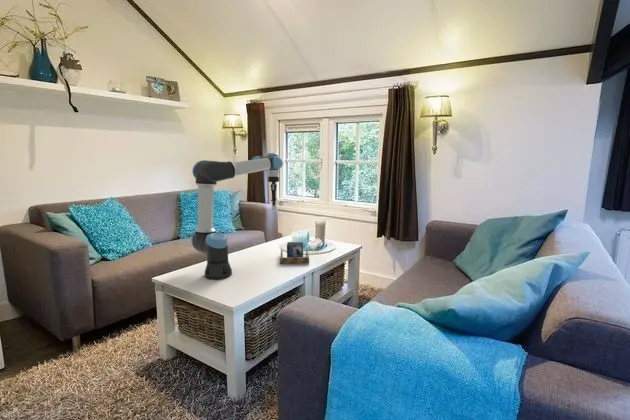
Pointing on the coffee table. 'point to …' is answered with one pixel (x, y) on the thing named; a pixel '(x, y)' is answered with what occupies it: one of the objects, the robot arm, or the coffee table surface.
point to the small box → (295, 249)
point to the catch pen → (294, 259)
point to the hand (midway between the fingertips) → (274, 210)
